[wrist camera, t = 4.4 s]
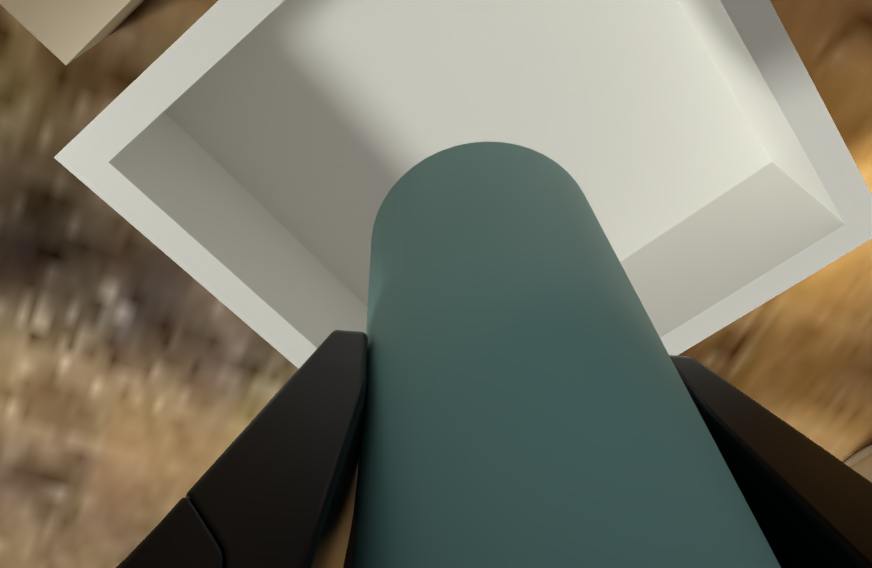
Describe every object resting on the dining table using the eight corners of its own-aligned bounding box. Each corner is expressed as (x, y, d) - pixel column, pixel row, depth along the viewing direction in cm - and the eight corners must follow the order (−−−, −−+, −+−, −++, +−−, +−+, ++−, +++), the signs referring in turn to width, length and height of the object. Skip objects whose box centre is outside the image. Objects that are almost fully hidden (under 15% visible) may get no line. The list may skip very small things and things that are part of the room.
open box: (793, 152, 22) (889, 228, 18) (436, 387, 26) (445, 495, 22) (535, -301, 16) (586, -351, 12) (125, 89, 20) (53, 157, 16)
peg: (634, 261, 12) (1042, 983, 5) (460, 372, 13) (552, 1113, 6) (511, 92, 11) (810, 757, 3) (324, 233, 12) (190, 999, 4)
